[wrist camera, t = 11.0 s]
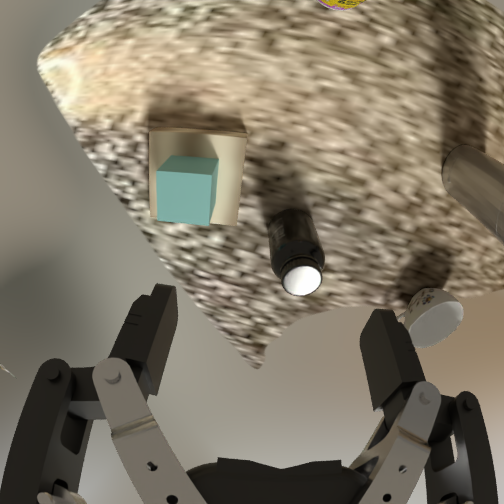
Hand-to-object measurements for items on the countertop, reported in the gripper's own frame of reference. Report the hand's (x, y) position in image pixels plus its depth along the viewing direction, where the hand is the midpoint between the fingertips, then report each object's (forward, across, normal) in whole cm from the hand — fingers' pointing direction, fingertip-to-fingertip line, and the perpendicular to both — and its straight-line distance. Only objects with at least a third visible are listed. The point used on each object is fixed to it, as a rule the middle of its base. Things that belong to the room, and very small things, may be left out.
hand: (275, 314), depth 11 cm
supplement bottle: (+30, -5, +12) cm, 32 cm away
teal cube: (+26, +9, +5) cm, 28 cm away
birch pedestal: (+29, +9, +5) cm, 31 cm away
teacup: (+30, -34, +25) cm, 52 cm away
